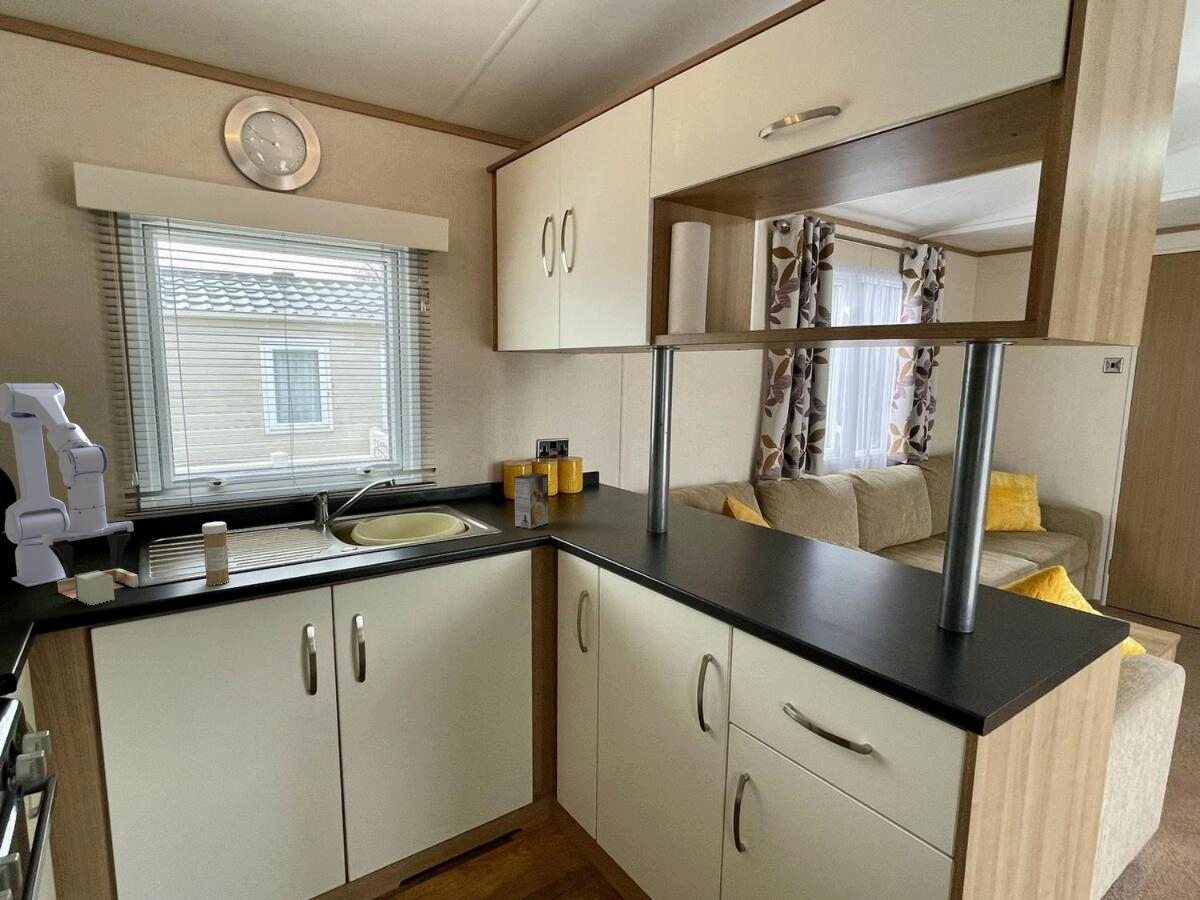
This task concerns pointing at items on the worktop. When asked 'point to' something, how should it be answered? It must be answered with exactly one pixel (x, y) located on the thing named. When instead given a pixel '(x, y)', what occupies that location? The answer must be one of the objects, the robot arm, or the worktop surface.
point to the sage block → (94, 587)
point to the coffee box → (531, 500)
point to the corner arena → (118, 574)
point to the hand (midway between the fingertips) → (93, 572)
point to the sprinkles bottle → (215, 552)
